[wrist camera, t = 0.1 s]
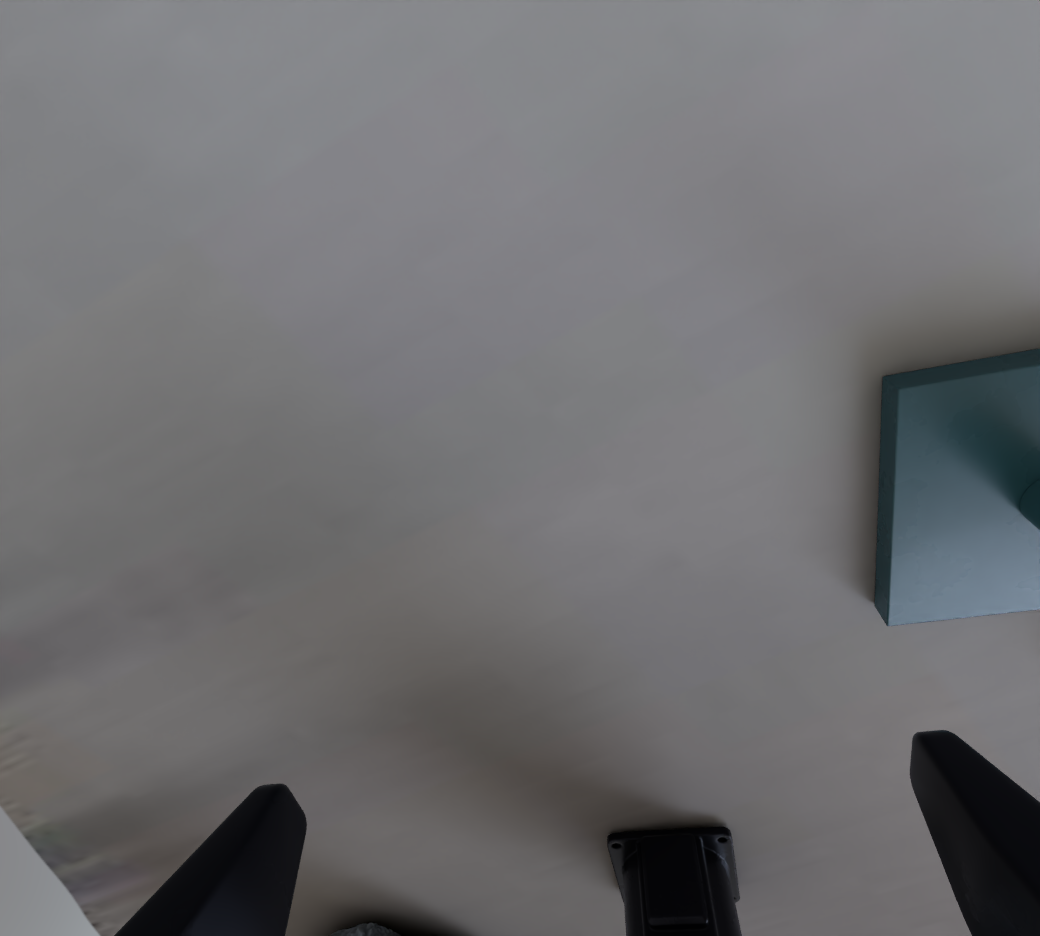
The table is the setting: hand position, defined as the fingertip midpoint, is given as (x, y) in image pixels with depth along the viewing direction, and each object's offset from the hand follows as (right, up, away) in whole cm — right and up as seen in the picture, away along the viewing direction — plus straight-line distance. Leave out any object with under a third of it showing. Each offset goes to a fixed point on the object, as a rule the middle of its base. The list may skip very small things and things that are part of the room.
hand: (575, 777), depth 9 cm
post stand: (+17, +4, +13) cm, 22 cm away
